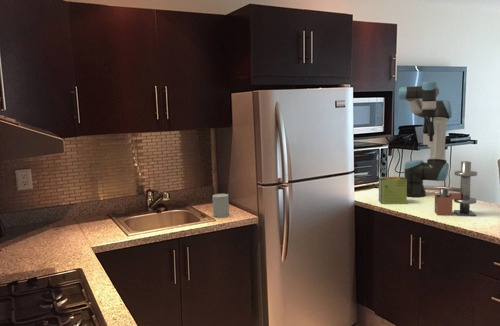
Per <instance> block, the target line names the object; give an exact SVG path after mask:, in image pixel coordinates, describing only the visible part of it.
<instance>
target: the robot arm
mask: <svg viewBox="0 0 500 326" xmlns="http://www.w3.org/2000/svg"><path fill="white" fill-rule="evenodd" d="M439 94H440V89H439V87H438V86H437V81H434V80H433V81H423V82H422V85H416V86H402V87H400V88H399V89H398V99H399V100H401V101H402V100H405V102H407V104H408V106H409V110H410V112H411V113H412V114H413V115H415V116H416V117H418V118H423V127H422V133H423V146H427V147H428V148H430V150H429V151H430V153H429V158H428V159H427V160H426V162H424V160H423V159H415V160H408V161H406V162H405V163H404V169H403V170H404V178H406V179H407V197H408V198H409V197H410V198H423V197H426V195H427V194H426V189H425V186H424V181H436V182H443V181H444V182H445V181H446V180H447V178H448V174H449V167H450V164H449V163H447V159H446V158H445V153H446V152H445V150H446V134H447V123H448V122H450V119H451V118H453V112H452V105H451V101H450V100H446V99H440V100H437V97H438V96H439Z"/></svg>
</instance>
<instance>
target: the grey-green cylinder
mask: <svg viewBox="0 0 500 326" xmlns="http://www.w3.org/2000/svg"><path fill="white" fill-rule="evenodd" d="M212 213H213V215H212V216H213V217H214V218H216V219H222V218H223V219H224V218H227V217H230V203H229V193H216V194H213V195H212Z"/></svg>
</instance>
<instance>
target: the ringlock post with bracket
mask: <svg viewBox="0 0 500 326" xmlns="http://www.w3.org/2000/svg"><path fill="white" fill-rule="evenodd" d="M454 175H455V176H456V177H457V176H458V177H460V184H459V185H460V187H459V189H460V190H459V191H460V192H448V194H447V197H440V194H434V213H435V214H436V215H437V216H453V213H454V214H455V215H457V217H476V216H477V214H476V213H475V212H474V211H473V210H471V209H470V208H471V206H470V205H473V204H476V203H477V198H474V197H471V177H477V176H478V171H474V170H472V161H470V160H469V161H460V170H454ZM453 202H454V203H456V204H459V209H453Z"/></svg>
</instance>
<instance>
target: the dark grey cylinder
mask: <svg viewBox="0 0 500 326" xmlns="http://www.w3.org/2000/svg"><path fill="white" fill-rule="evenodd" d="M439 195H440V197H447V195H449V191H448V188H445V187H444V188H439Z"/></svg>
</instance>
